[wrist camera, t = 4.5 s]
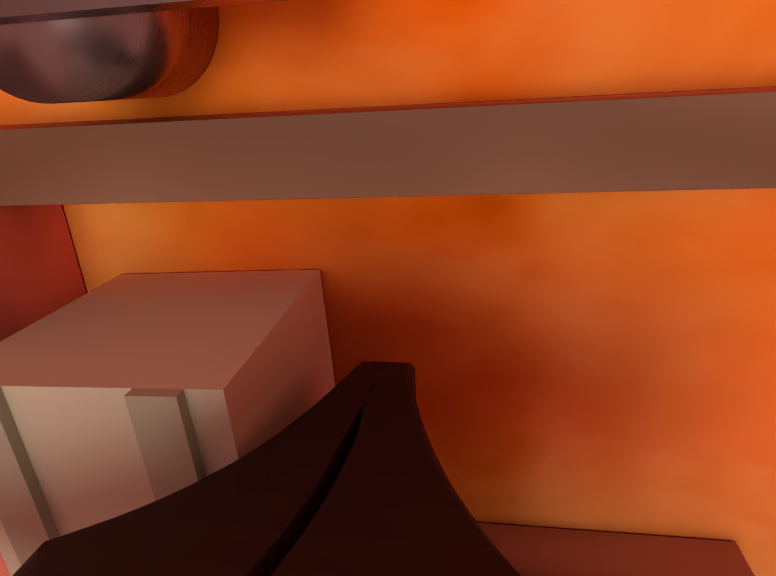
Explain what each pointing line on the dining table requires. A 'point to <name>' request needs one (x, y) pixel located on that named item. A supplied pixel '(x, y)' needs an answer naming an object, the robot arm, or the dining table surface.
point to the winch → (105, 47)
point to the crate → (150, 392)
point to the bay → (391, 179)
